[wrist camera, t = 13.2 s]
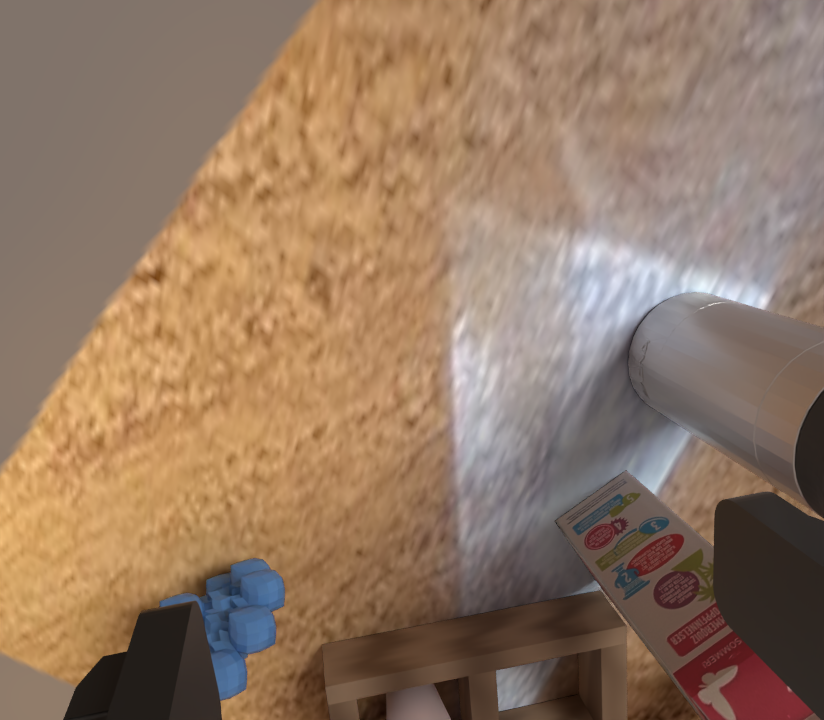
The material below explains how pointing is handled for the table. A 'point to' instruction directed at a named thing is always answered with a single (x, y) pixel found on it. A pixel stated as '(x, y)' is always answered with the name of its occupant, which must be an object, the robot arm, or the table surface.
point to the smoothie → (416, 704)
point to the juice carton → (674, 602)
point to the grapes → (238, 618)
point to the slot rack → (490, 660)
